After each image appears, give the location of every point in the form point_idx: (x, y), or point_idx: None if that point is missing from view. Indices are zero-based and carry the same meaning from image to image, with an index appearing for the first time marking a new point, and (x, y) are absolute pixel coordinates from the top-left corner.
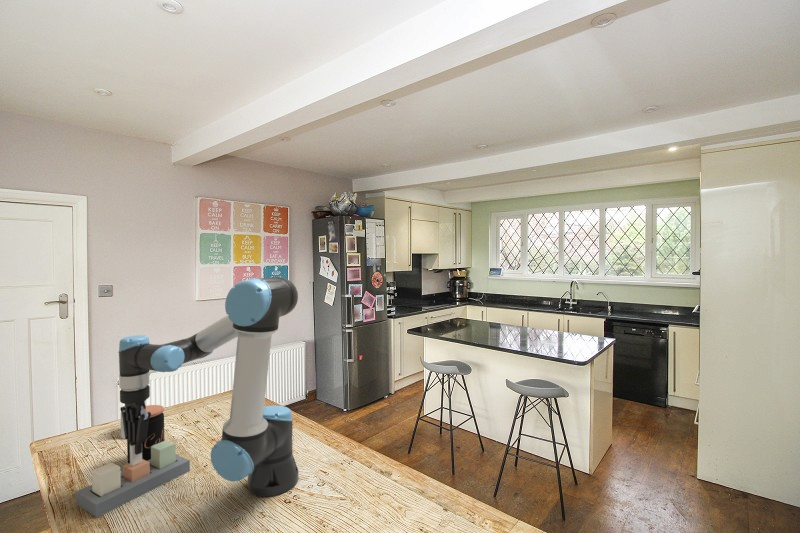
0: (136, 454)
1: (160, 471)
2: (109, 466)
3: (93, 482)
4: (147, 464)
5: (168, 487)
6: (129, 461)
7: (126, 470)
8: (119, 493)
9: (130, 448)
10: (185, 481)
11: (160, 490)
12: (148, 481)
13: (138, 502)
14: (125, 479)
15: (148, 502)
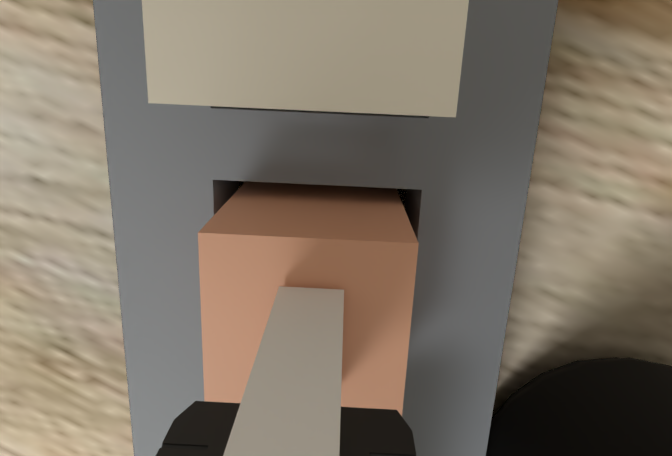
0: (194, 404)
1: (176, 403)
2: (341, 18)
3: None
4: (208, 389)
5: (87, 336)
6: (661, 388)
7: (334, 226)
8: (99, 11)
9: (310, 447)
10: (63, 426)
11: (96, 289)
12: (125, 274)
13: (69, 123)
14: (363, 199)
15: (4, 160)
